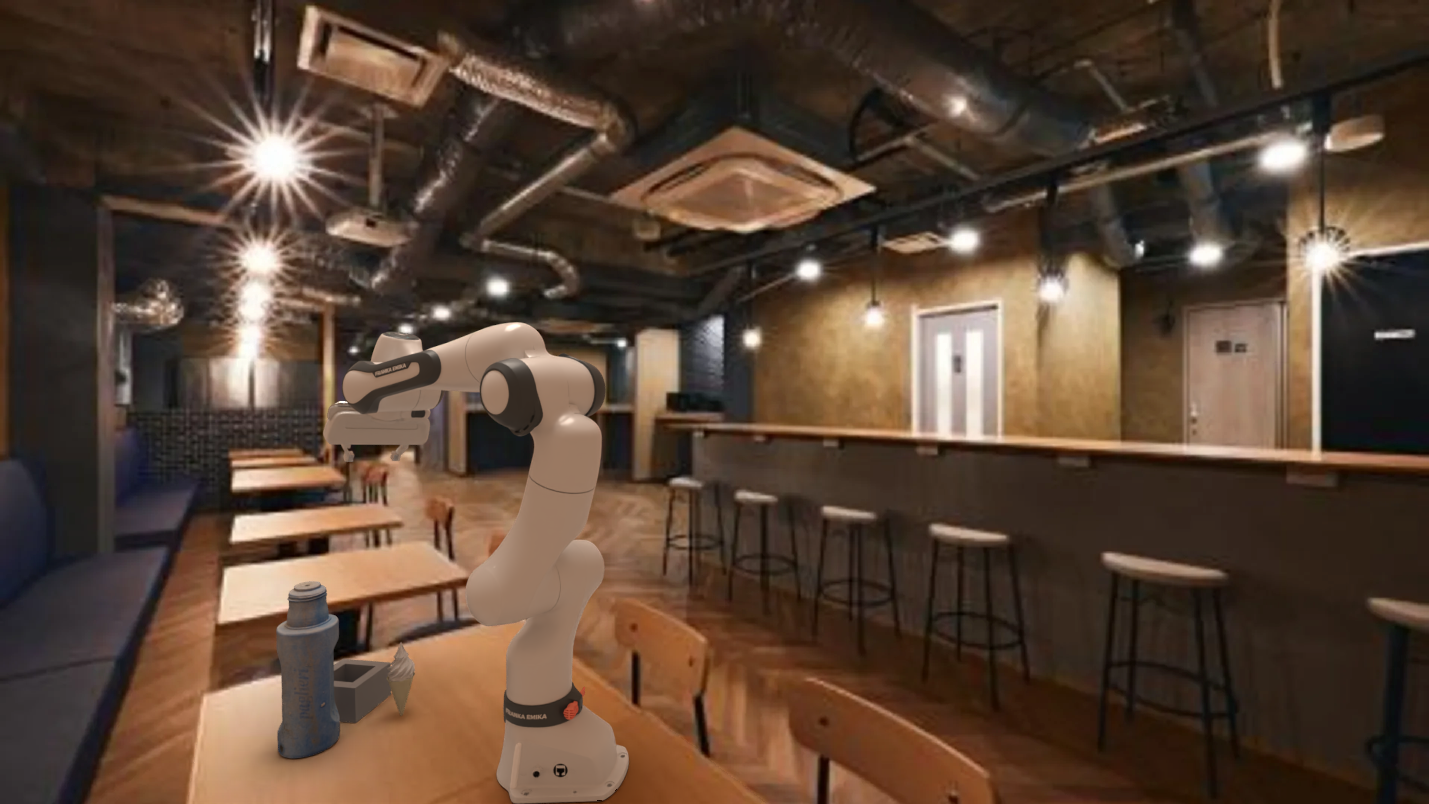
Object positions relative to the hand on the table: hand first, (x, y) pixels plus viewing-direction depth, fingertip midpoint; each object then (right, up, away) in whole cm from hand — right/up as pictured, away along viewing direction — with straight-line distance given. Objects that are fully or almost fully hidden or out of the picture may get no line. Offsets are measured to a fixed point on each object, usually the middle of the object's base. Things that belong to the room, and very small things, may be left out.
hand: (371, 460), depth 139 cm
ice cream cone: (+12, -50, -11) cm, 53 cm away
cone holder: (0, -50, -8) cm, 50 cm away
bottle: (0, -51, -21) cm, 55 cm away
